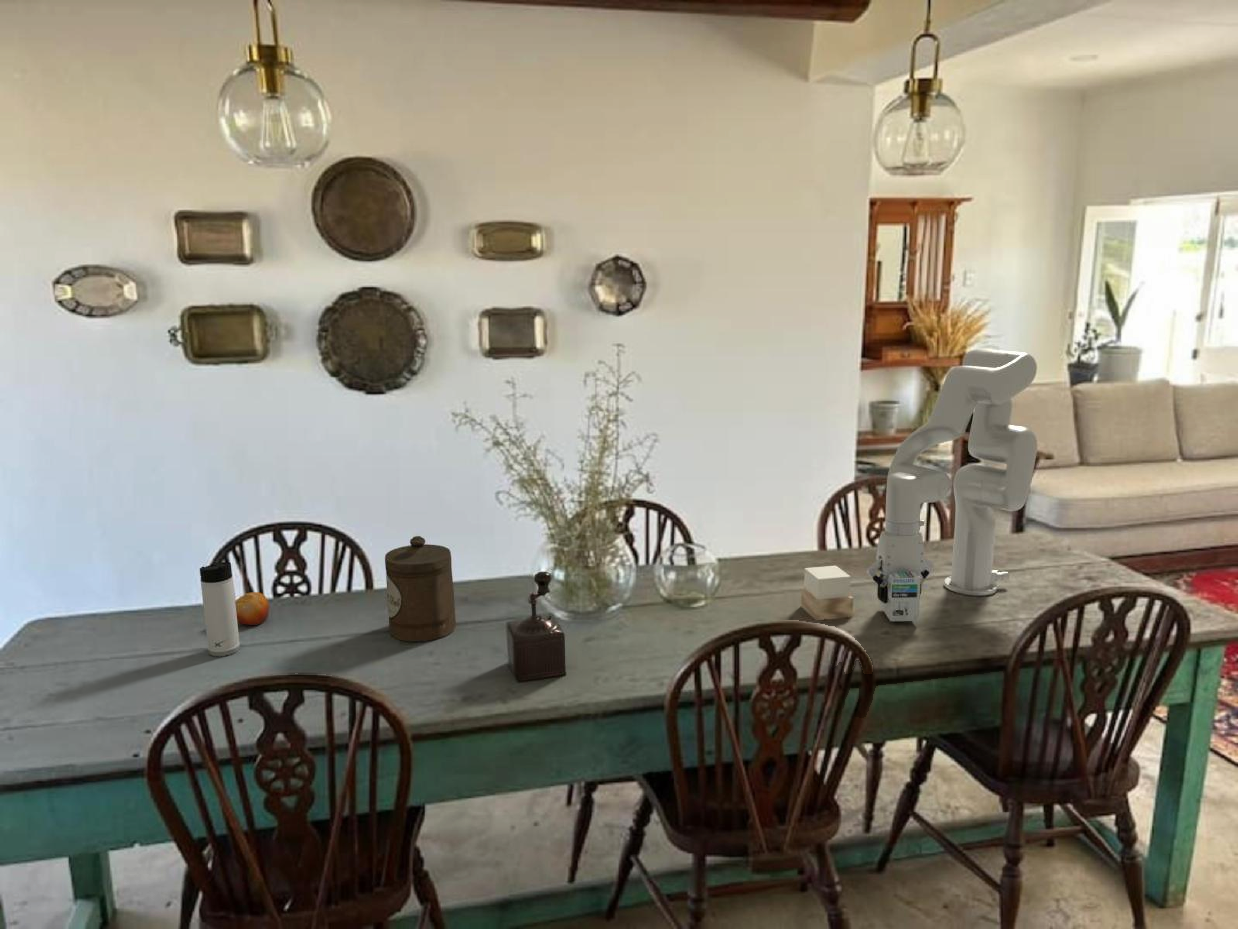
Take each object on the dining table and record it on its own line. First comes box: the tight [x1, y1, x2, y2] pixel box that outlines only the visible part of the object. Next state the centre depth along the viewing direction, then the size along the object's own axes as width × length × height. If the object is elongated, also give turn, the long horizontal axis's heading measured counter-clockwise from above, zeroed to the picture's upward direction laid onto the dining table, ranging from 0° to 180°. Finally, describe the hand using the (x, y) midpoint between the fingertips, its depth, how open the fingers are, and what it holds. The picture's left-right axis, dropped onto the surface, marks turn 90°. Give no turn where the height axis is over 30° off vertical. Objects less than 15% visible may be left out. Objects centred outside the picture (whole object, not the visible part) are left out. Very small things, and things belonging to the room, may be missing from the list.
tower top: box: [803, 565, 852, 600], centre depth 220 cm, size 8×8×5 cm
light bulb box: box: [879, 572, 921, 622], centre depth 216 cm, size 11×7×11 cm, turn 179°
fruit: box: [235, 591, 270, 626], centre depth 218 cm, size 8×8×8 cm
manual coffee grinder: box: [505, 571, 567, 684], centre depth 193 cm, size 16×11×18 cm
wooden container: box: [384, 535, 457, 643], centre depth 211 cm, size 15×15×22 cm
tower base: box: [800, 587, 854, 621], centre depth 221 cm, size 9×9×5 cm
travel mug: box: [199, 561, 241, 657], centre depth 200 cm, size 6×7×20 cm
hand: (898, 599), depth 217 cm, fingers closed on light bulb box, 7 cm apart
